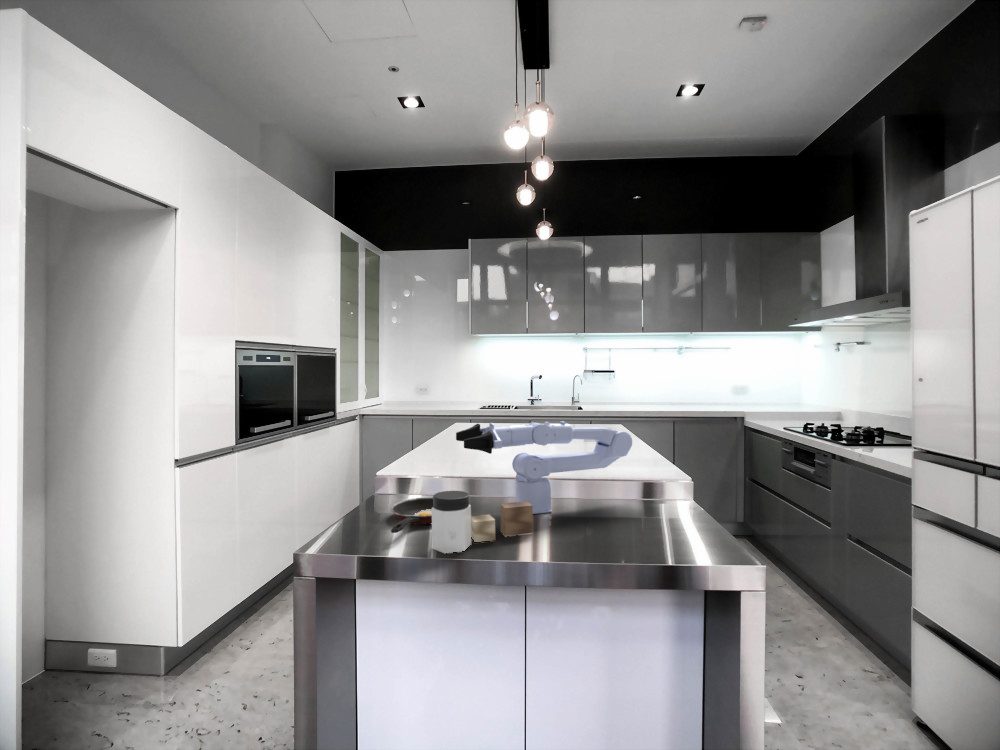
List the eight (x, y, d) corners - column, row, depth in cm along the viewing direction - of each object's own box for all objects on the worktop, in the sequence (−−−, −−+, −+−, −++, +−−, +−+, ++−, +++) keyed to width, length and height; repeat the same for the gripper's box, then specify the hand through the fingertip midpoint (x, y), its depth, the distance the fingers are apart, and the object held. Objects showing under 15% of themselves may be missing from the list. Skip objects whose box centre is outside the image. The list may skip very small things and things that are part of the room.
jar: (434, 555, 116) (433, 500, 116) (430, 543, 124) (429, 492, 124) (474, 551, 118) (473, 497, 118) (468, 539, 126) (467, 489, 126)
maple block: (490, 534, 130) (489, 514, 130) (495, 541, 125) (495, 520, 125) (469, 536, 129) (469, 516, 128) (474, 543, 124) (474, 522, 124)
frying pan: (467, 509, 153) (467, 496, 153) (433, 547, 122) (432, 531, 121) (405, 506, 156) (404, 493, 156) (356, 543, 125) (355, 528, 125)
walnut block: (527, 529, 134) (527, 501, 133) (532, 534, 130) (532, 505, 130) (500, 531, 132) (500, 503, 131) (505, 537, 128) (504, 508, 128)
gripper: (499, 416, 153) (453, 419, 148) (517, 428, 140) (467, 432, 135) (498, 440, 154) (453, 443, 149) (517, 454, 141) (467, 459, 136)
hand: (460, 440), depth 142 cm, fingers open, 7 cm apart
